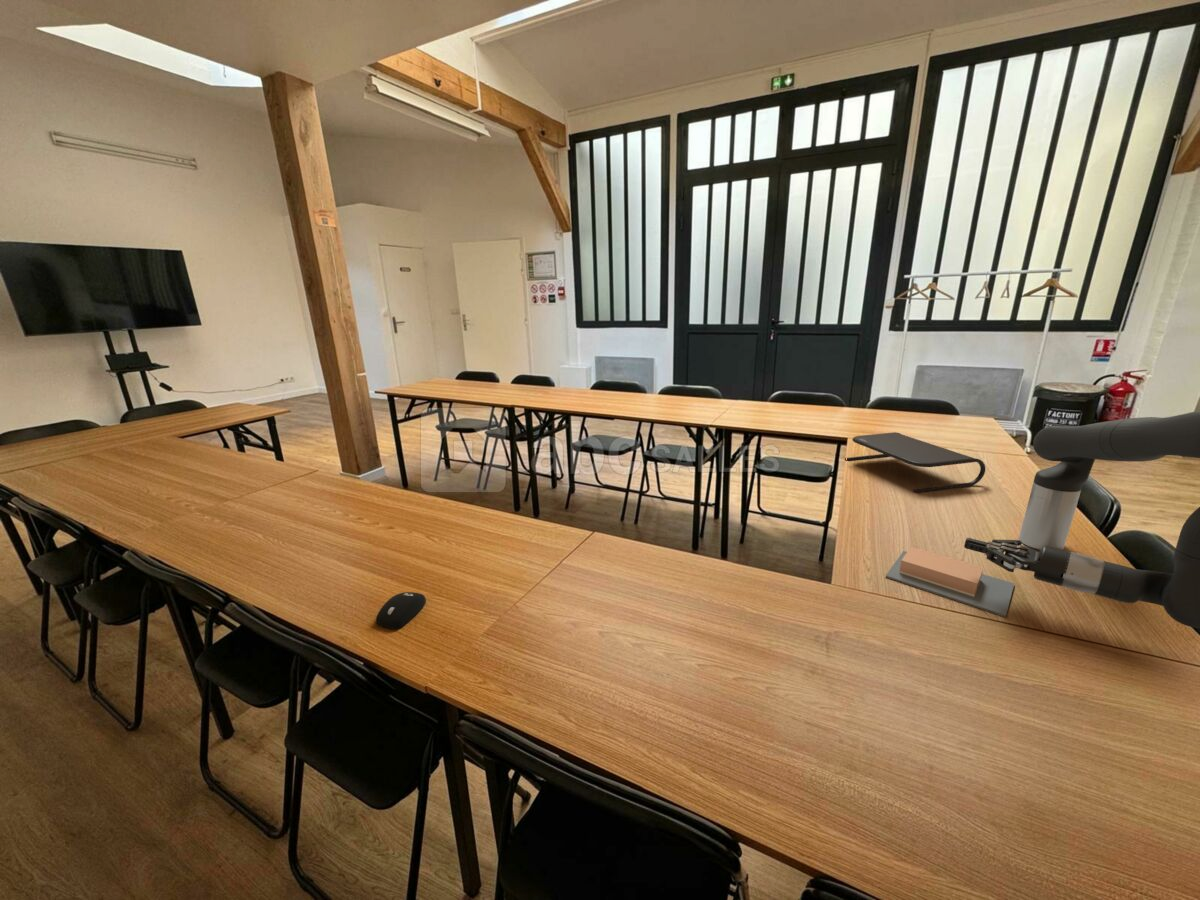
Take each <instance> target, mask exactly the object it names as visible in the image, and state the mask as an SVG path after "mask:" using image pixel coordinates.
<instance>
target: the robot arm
mask: <svg viewBox="0 0 1200 900" xmlns="http://www.w3.org/2000/svg"><path fill="white" fill-rule="evenodd" d="M1032 446H1033V450H1034V452H1035V453H1036V455H1038V456H1039V457H1040V458H1041V459H1043V460H1046V461H1050V462H1059V463H1057V464H1055V465H1053V466H1051V467H1050V466H1049V467H1047V468H1045V469H1044V468H1043V469H1040V470H1038V471H1037V472H1036V473H1035V474H1034V479H1033V482H1032V486H1031V489H1030V494H1029V497H1028V501H1027V505H1026V509H1025V513H1024V517H1023V520H1022V523H1021V528H1020V532H1019V535H1018V539H992V540H991V541H990V540H989V541H983V540H979V539H976V538H971V537H966V539H965V541H964V548H965V549H967V550H970V551H974V552H977V553H981V554H984V555H985V556H986V560H988V561H990V562H991V563H993V564H995V565H996V566H999V568H1002V569H1004V570H1005V571H1007V572H1010V573H1014V572H1015V569H1018V570H1022V571H1027V572H1028V571H1029V572H1033V573H1034V574H1033V578H1034V579H1035V580H1037V581H1041V582H1045V583H1048V584H1052V585H1054V586H1059V587H1064V588H1066V589H1068V590H1069V589H1070V590H1073V591H1077V592H1081V593H1087V594H1091V595H1096V596H1099V597H1103V598H1106V599H1110V600H1114V601H1117V602H1122V603H1125V604H1134V603H1137V602H1144V603H1150V604H1152V605H1153V604H1154V605H1159V606H1160V607H1163V608H1164V611H1165V612H1166V614H1167V615H1168V616H1169V617H1170V618H1171V619H1173V620H1174V621H1175V622H1177V623H1179V624H1181V625H1184V626H1187V627H1191V628H1197V629H1199V628H1200V506H1199V507H1198V508H1196V509H1195V510H1193V512H1192V513H1191V514H1190V515H1189V516H1188V518H1187V519H1186V520H1185V522H1184V523H1183V525H1182V527H1181V529H1180V533H1179V537H1178V539H1177V543H1176V545H1175V549H1174V553H1173V563H1174V569H1173V573H1169V572H1162V571H1154V570H1147V569H1137V568H1132V567H1129V566H1126V565H1122V564H1117V563H1115V562H1114V563H1112V562H1109V561H1105V560H1101V559H1099V558H1095V557H1093V556H1090V555H1086V554H1083V553H1078V552H1073V551H1069V550H1066V549H1065V545H1066V543H1067V539H1068V537H1069V533H1070V529H1071V526H1072V522H1073V519H1074V516H1075V512H1076V509H1077V506H1078V502H1079V500H1080V499H1079V498H1080V494H1081V492H1082V489H1083V486H1084V484H1085V483H1086V482H1087V480H1088V478H1089V477H1090V474H1091V472H1092V468H1093V465H1094V463H1095V461H1096V460H1101V461H1108V462H1109V461H1112V462H1127V463H1128V462H1131V463H1132V462H1139V463H1140V462H1151V461H1156V460H1159V459H1162V458H1164V457H1167V456H1175V457H1186V458H1193V459H1194V458H1195V459H1200V410H1194V411H1190V412H1186V413H1181V414H1178V415H1173V416H1164V417H1159V416H1157V417H1156V416H1155V417H1154V416H1146V417H1145V416H1143V417H1132V418H1131V417H1130V418H1120V419H1115V420H1107V421H1102V422H1101V421H1100V422H1096V423H1089V424H1085V425H1049V426H1045V427H1043V428H1042V429H1040V430H1039V431H1038V432H1037V433H1036V434H1035V436H1034V438H1033V442H1032Z"/></svg>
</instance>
